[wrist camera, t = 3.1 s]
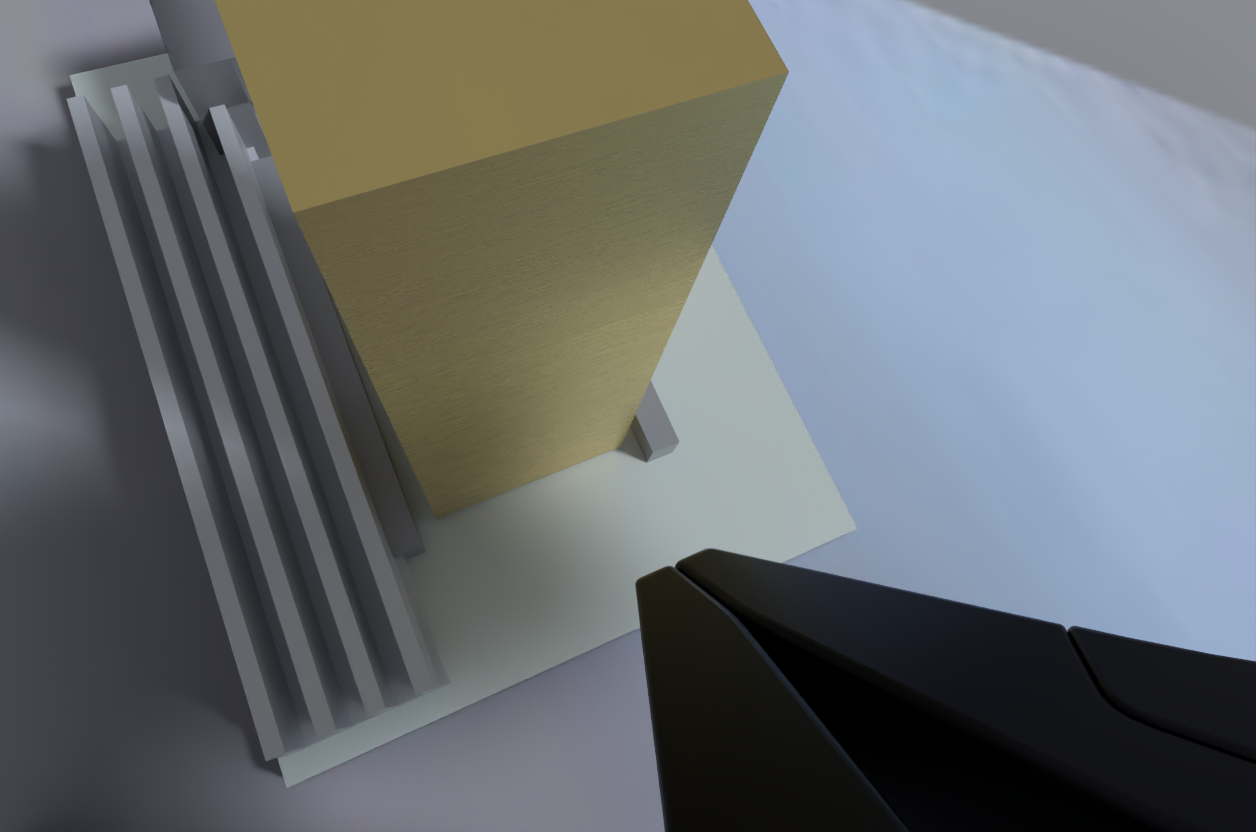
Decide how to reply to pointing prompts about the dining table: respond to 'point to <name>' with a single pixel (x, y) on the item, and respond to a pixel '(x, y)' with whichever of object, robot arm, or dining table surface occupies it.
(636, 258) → the yellow rectangular block
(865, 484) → the dining table surface
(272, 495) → the socket board
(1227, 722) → the robot arm
